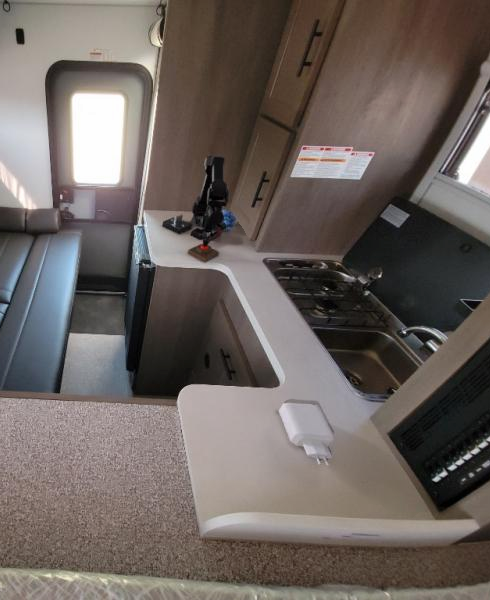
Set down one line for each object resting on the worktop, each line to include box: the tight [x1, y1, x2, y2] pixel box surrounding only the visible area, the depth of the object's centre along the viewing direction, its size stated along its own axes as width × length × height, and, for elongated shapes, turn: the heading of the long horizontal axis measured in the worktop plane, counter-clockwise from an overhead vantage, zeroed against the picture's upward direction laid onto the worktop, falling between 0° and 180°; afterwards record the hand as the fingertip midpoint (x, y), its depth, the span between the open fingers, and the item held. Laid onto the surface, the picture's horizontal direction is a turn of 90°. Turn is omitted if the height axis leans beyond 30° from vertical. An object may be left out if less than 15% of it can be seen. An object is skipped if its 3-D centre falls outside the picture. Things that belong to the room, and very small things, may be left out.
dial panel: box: [161, 216, 193, 235], centre depth 177 cm, size 10×12×3 cm
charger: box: [278, 402, 336, 467], centre depth 82 cm, size 5×9×15 cm
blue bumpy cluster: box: [222, 209, 237, 232], centre depth 171 cm, size 12×7×12 cm, turn 88°
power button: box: [200, 244, 210, 250], centre depth 153 cm, size 4×4×2 cm
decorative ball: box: [201, 227, 223, 241], centre depth 165 cm, size 10×10×10 cm
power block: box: [187, 243, 220, 263], centre depth 155 cm, size 10×10×4 cm
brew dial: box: [173, 213, 184, 224], centre depth 175 cm, size 5×1×4 cm, turn 128°
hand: (204, 246), depth 153 cm, fingers closed, pressing on power button
